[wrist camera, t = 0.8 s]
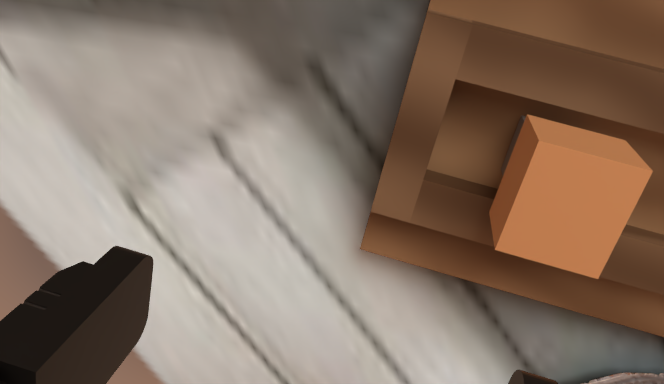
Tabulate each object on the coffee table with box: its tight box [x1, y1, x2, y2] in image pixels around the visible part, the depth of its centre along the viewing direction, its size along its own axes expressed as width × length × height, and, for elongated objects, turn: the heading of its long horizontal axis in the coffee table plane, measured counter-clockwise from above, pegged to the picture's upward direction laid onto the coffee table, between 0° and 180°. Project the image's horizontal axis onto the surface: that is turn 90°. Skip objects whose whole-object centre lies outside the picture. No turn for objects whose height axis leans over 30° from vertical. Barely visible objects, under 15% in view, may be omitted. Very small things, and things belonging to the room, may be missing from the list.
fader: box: [489, 114, 653, 279], centre depth 24 cm, size 5×4×7 cm
